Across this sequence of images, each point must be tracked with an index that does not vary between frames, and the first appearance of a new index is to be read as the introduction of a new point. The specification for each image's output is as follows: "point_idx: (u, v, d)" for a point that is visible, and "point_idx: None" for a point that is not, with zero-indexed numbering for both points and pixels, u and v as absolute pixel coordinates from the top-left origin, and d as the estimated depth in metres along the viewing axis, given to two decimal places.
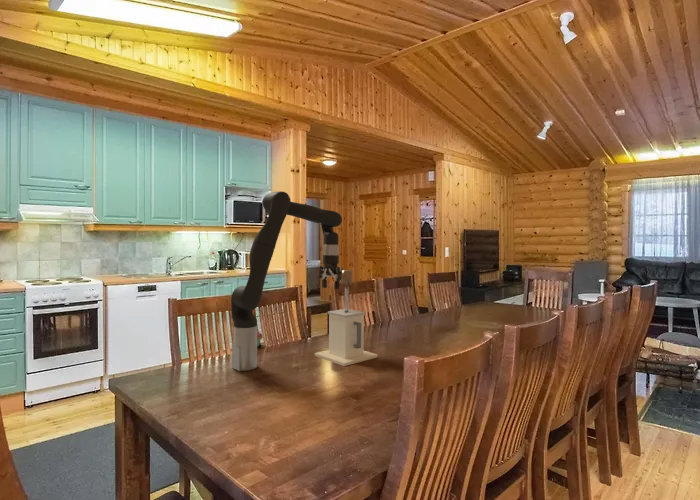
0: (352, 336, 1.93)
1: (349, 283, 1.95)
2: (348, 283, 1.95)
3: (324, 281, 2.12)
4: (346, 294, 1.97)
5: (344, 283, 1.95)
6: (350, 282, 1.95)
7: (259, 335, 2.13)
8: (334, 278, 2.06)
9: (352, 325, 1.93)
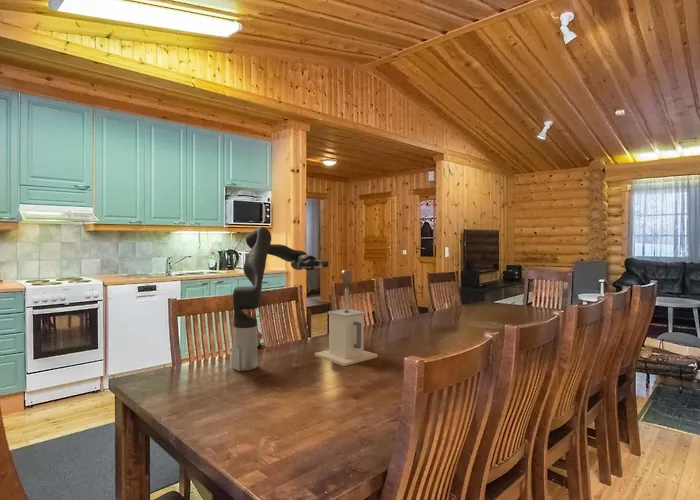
0: (352, 336, 1.93)
1: (349, 283, 1.95)
2: (348, 283, 1.95)
3: None
4: (346, 294, 1.97)
5: (344, 283, 1.95)
6: (350, 282, 1.95)
7: (259, 335, 2.13)
8: (322, 261, 2.14)
9: (352, 325, 1.93)
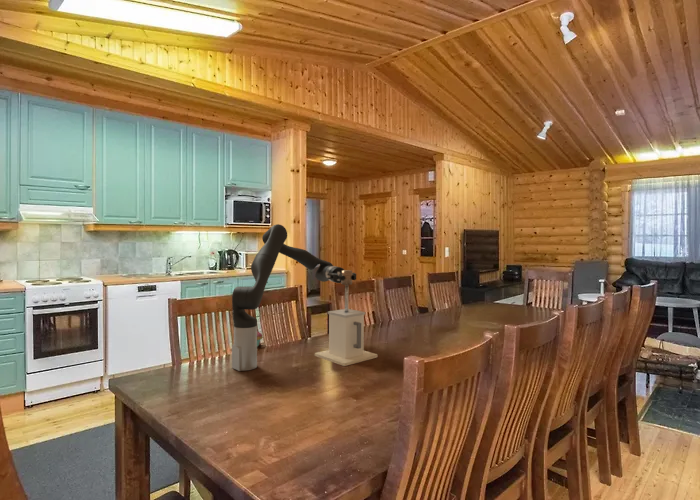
0: (352, 336, 1.93)
1: (349, 283, 1.95)
2: (348, 283, 1.95)
3: None
4: (346, 294, 1.97)
5: (344, 283, 1.95)
6: (350, 282, 1.95)
7: (259, 335, 2.13)
8: None
9: (352, 325, 1.93)
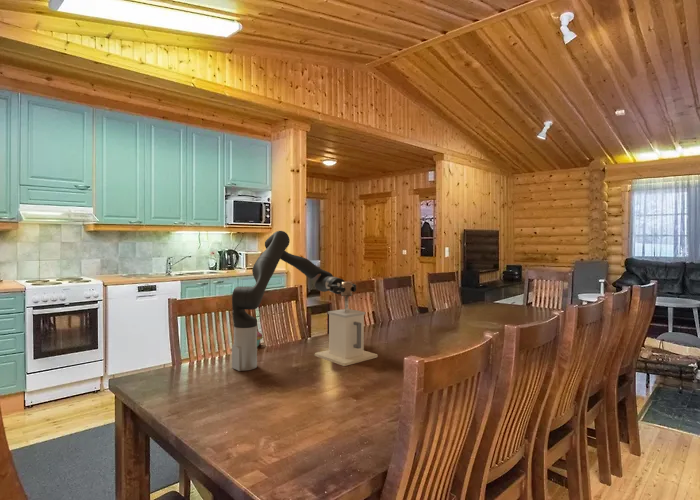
0: (352, 336, 1.93)
1: (349, 295, 1.95)
2: (348, 295, 1.95)
3: None
4: (346, 306, 1.97)
5: (344, 295, 1.95)
6: (350, 294, 1.96)
7: (259, 335, 2.13)
8: None
9: (352, 325, 1.93)
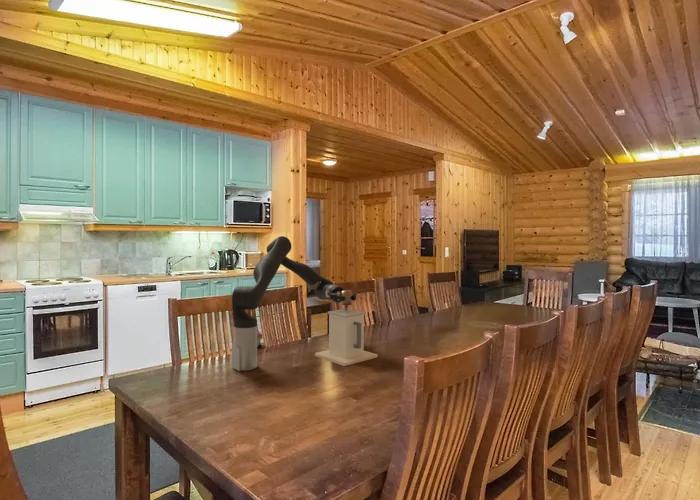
0: (352, 336, 1.93)
1: (349, 304, 1.96)
2: (348, 304, 1.95)
3: None
4: None
5: (344, 304, 1.95)
6: (350, 302, 1.96)
7: (259, 335, 2.13)
8: None
9: (352, 325, 1.93)
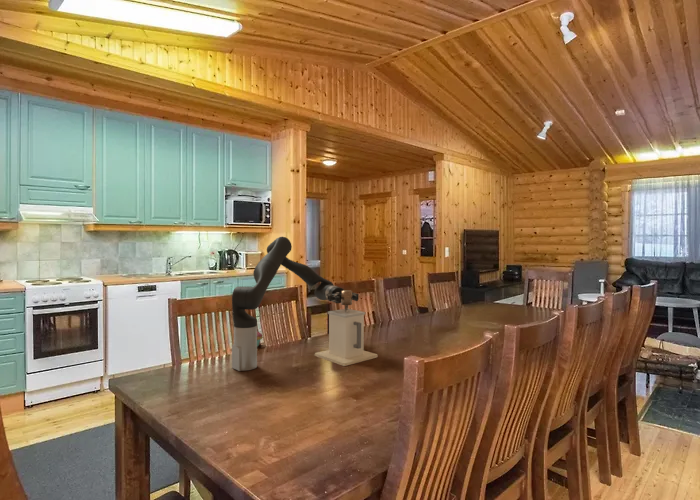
0: (352, 336, 1.93)
1: (349, 304, 1.96)
2: (348, 304, 1.95)
3: None
4: None
5: (344, 304, 1.95)
6: (350, 302, 1.96)
7: (259, 335, 2.13)
8: (352, 294, 2.02)
9: (352, 325, 1.93)
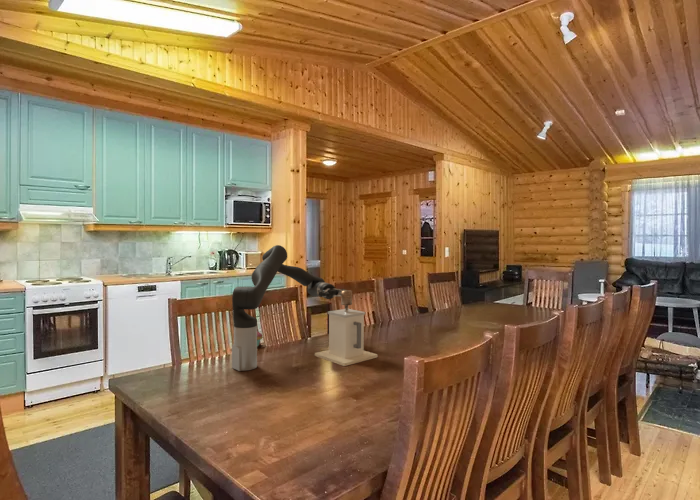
0: (352, 336, 1.93)
1: (349, 304, 1.96)
2: (348, 304, 1.95)
3: None
4: None
5: (344, 304, 1.95)
6: (350, 302, 1.96)
7: (259, 335, 2.13)
8: (341, 290, 2.14)
9: (352, 325, 1.93)
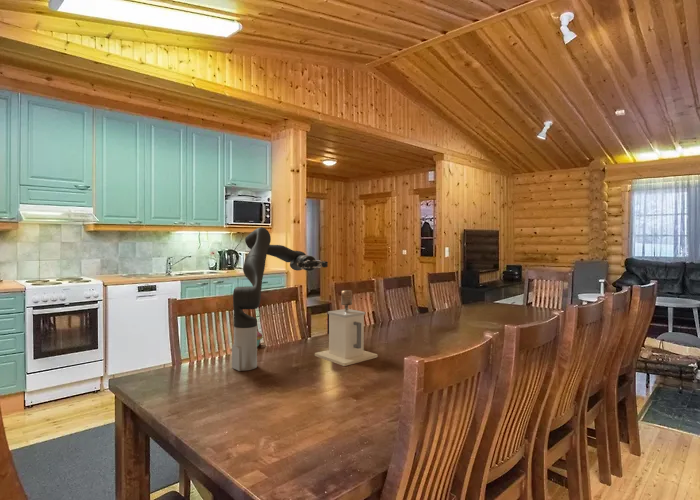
0: (352, 336, 1.93)
1: (349, 304, 1.96)
2: (348, 304, 1.95)
3: None
4: None
5: (344, 304, 1.95)
6: (350, 302, 1.96)
7: (259, 335, 2.13)
8: None
9: (352, 325, 1.93)
